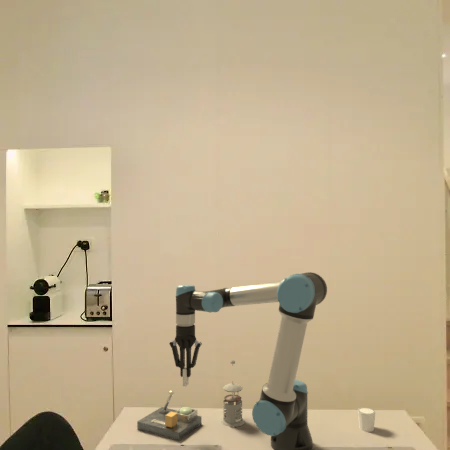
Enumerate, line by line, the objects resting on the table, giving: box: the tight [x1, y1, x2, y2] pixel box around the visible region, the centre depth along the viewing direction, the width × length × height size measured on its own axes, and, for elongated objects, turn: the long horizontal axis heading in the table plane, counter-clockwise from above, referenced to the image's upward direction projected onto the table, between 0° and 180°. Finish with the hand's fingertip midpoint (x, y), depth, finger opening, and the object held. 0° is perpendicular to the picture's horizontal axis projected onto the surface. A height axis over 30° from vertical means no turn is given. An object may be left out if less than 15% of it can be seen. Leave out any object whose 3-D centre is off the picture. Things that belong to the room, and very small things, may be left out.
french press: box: [220, 360, 245, 428], centre depth 168 cm, size 10×12×25 cm
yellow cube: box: [165, 412, 178, 428], centre depth 156 cm, size 3×4×4 cm
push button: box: [179, 406, 193, 415], centre depth 163 cm, size 5×5×3 cm
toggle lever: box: [163, 390, 175, 411], centre depth 167 cm, size 2×2×10 cm
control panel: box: [136, 406, 202, 442], centre depth 162 cm, size 20×16×6 cm
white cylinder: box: [356, 406, 376, 433], centre depth 160 cm, size 7×7×7 cm
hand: (185, 385), depth 158 cm, fingers closed
